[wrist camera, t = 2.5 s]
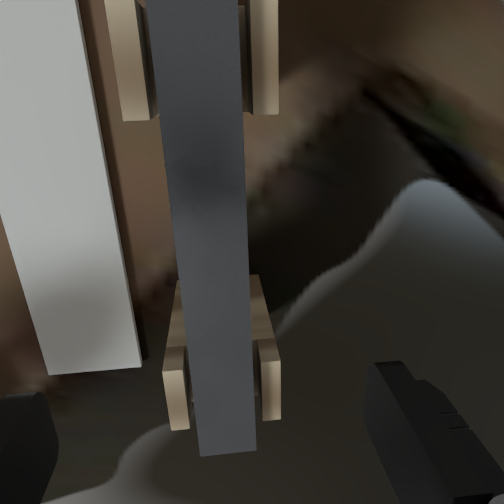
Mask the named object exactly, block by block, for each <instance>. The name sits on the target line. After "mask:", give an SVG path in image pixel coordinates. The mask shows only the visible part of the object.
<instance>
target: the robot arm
mask: <svg viewBox="0 0 504 504" xmlns="http://www.w3.org/2000/svg"><path fill="white" fill-rule="evenodd" d="M364 420H365V425H366V429H367V432H368V435H369V437H370V439H371V441H372V444H373V446H374V448H375V450H376V453H377V455H378V457H379V459H380V462H381V464H382V466H383V468H384V470H385V473H386V475H387V477H388V479H389V481H390V484H391V486H392V488H393V490H394V492H395V495H396V497H397V499H398V501H399V504H504V472H503V470H502V469H501V468H500V466H499V465H498V464H497V462H496V461H495V460H494V458H493V457H492V456H491V455H490V453H489V452H488V451H487V449H486V448H485V447H484V445H483V444H482V443H481V441H480V440H479V439H478V437H477V436H476V435H475V433H474V432H473V431H472V430H470V429H469V426H468V424H467V423H466V422H465V420H464V419H463V418H462V416H461V415H458V412H457V410H456V409H455V407H454V406H453V404H452V403H451V402H450V400H449V399H448V398H447V397H446V395H445V394H444V393H443V392H441V391H440V390H439V389H437V388H436V387H434V386H433V385H432V384H430V383H429V382H428V381H426V380H415V379H414V377H413V376H412V375H411V373H410V372H409V370H408V369H407V367H406V366H405V365H404V363H403V362H402V361H387V362H377V363H370V364H369V366H368V373H367V382H366V391H365V401H364ZM58 451H59V442H58V437H57V433H56V430H55V427H54V423H53V420H52V417H51V413H50V410H49V407H48V404H47V400H46V397H45V395H44V394H43V393H42V392H31V393H20V394H9V395H6V396H4V397H3V398H2V399H1V400H0V504H40V503H41V501H42V498H43V496H44V493H45V491H46V488H47V486H48V483H49V481H50V478H51V476H52V474H53V471H54V469H55V466H56V463H57V458H58Z"/></svg>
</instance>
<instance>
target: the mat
mask: <svg viewBox="0 0 504 504" xmlns="http://www.w3.org/2000/svg"><path fill="white" fill-rule="evenodd" d="M0 214H1V218H2V221H3V224H4V228H5V231H6V234H7V238H8V241H9V244H10V248H11V251H12V254H13V258H14V261H15V264H16V268H17V271H18V274H19V278H20V281H21V284H22V288H23V291H24V294H25V298H26V301H27V304H28V308H29V311H30V314H31V318H32V321H33V324H34V328H35V331H36V334H37V338H38V341H39V344H40V348H41V351H42V354H43V358H44V361H45V364H46V368H47V371H48V374H49V375H56V374H67V373H78V372H89V371H100V370H111V369H122V368H133V367H141V366H142V357H141V351H140V346H139V340H138V334H137V329H136V323H135V318H134V312H133V306H132V301H131V295H130V290H129V284H128V278H127V273H126V267H125V262H124V256H123V250H122V245H121V239H120V234H119V228H118V222H117V217H116V211H115V206H114V200H113V194H112V189H111V183H110V178H109V172H108V166H107V161H106V155H105V150H104V144H103V138H102V133H101V127H100V122H99V116H98V110H97V105H96V99H95V94H94V88H93V82H92V77H91V71H90V66H89V60H88V54H87V49H86V43H85V38H84V32H83V26H82V21H81V15H80V10H79V4H78V0H0Z"/></svg>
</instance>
